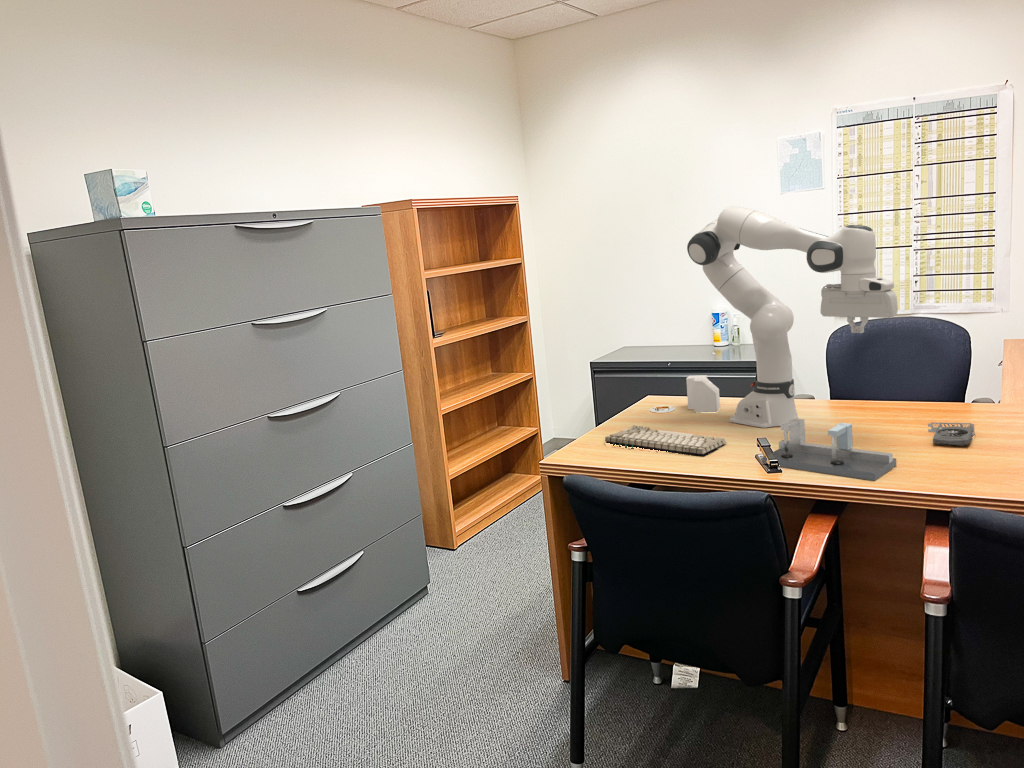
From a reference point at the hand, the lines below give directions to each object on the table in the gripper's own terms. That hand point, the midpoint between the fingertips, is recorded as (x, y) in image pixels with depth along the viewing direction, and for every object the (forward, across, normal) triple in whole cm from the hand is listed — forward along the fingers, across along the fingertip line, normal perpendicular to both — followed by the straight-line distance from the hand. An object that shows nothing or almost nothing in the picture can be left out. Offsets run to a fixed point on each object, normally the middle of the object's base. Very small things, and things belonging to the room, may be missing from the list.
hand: (857, 332), depth 212 cm
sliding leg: (+29, +5, -22) cm, 37 cm away
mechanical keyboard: (+35, -50, -24) cm, 66 cm away
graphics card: (+33, +20, +14) cm, 41 cm away
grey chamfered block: (+34, -64, +20) cm, 75 cm away
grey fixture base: (+32, +2, -23) cm, 40 cm away
